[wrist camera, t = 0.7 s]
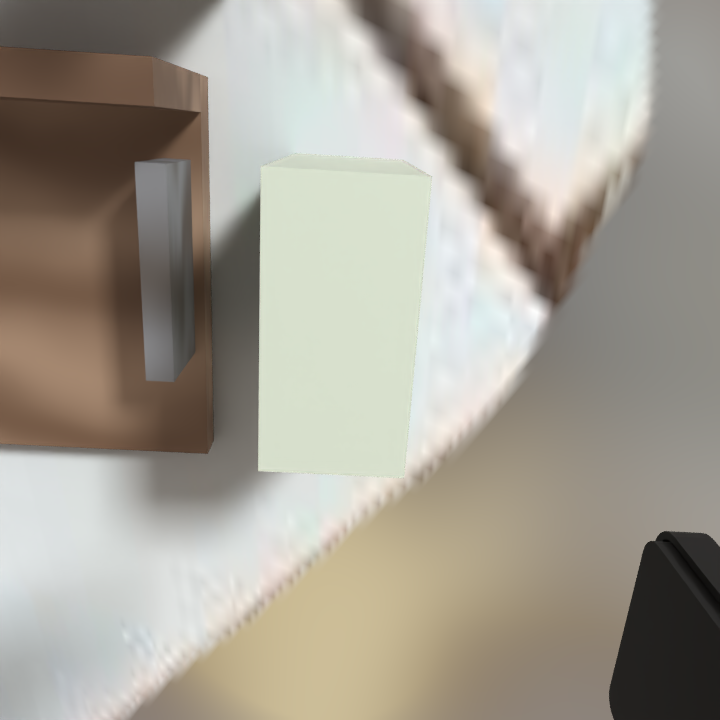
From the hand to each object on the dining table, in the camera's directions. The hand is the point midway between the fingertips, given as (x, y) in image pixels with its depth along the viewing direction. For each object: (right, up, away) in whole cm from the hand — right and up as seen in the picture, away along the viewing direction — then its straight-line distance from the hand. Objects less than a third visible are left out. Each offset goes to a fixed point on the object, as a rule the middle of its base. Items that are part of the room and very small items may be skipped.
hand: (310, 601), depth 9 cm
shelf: (-15, +8, +23) cm, 28 cm away
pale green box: (0, +8, +23) cm, 24 cm away
